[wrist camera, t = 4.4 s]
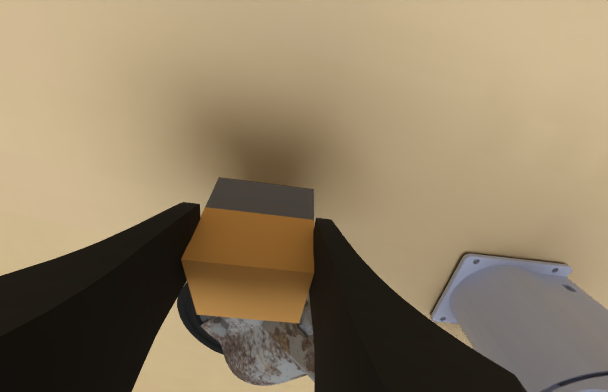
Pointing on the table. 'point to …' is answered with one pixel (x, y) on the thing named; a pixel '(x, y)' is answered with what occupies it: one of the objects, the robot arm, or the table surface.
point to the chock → (252, 252)
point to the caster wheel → (255, 343)
